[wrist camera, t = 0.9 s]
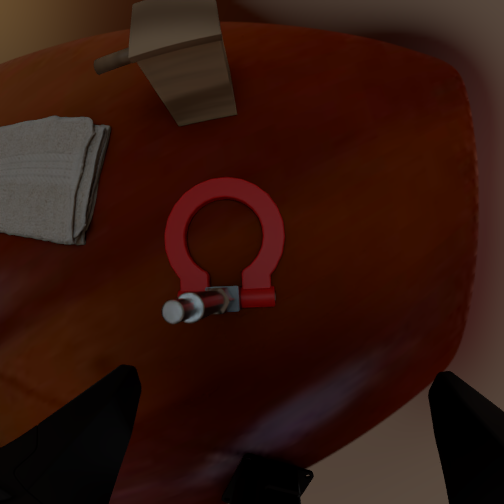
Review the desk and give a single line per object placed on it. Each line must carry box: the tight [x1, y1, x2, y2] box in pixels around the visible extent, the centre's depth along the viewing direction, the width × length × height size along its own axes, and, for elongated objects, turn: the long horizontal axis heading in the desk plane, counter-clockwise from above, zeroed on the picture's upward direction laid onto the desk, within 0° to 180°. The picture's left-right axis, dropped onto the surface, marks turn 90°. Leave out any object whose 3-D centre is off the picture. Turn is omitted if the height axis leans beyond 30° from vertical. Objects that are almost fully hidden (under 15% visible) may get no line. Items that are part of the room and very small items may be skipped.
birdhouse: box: [94, 0, 237, 126], centre depth 20 cm, size 5×9×11 cm, turn 99°
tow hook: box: [162, 177, 285, 324], centre depth 18 cm, size 9×14×10 cm
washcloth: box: [0, 116, 111, 245], centre depth 25 cm, size 12×18×3 cm, turn 84°
